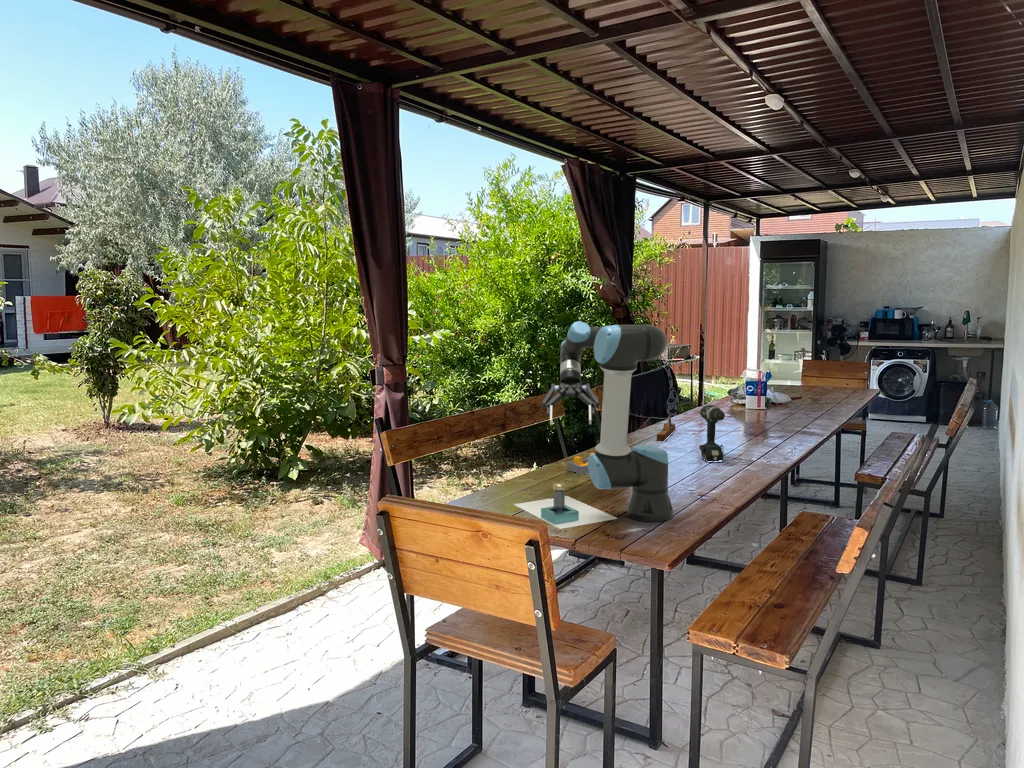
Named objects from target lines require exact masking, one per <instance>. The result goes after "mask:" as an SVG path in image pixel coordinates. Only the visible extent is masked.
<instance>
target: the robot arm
mask: <svg viewBox="0 0 1024 768" xmlns="http://www.w3.org/2000/svg"><path fill="white" fill-rule="evenodd" d="M667 344H668V339H667V335H666V334H665V332H664V330H663V329H662V328H660V327H658V326H656V325H653V324H646V323H645V324H613V325H605V326H590V325H589V324H588V323H586V322H583V321H581V320H580V321H579V320H578V321H574V322H573V323H572V324H571V325H570V327H569V329H568V331H567V335H566V337H565V339H564V340H563V341H562V342H561V344H560V349H559V353H560V367H559V368H560V370H559V374H560V375H559V378H560V381H559V385H556V384H555V383H552V384H551V387H550V389H549V391H548V393H547V394H546V395H545V397H544V398H543V400H542V402H541V407H542V408H543V409H545V408H546V414H547V415H546V416H548V417H549V425H550V426H552V425H553V409H554V408H553V407H554V406H555V405H556V404H557V403H558V402H559V401H560V400H562V399H564V397H567V398H575V397H577V398H578V399H580V400H581V401H582V402H583V403H584V404H585V405H586V406H588V425H592V417H594V416H595V409H596V408H598V409H599V407H600V401H599V400H598V398H597V396H596V395H595V394H594V392H593V390H592V389H591V386H590V383H586V384H584V385H583V384H582V379H581V378H582V376H581V375H582V374H581V373H582V371H581V369H582V368H581V366H582V365H581V359H582V354H583V352H584V350H585V349H589V348H590V349H593V353H594V359H595V361H596V362H597V363H598V364H599V368H600V369H601V371H603V387H602V407H601V422H600V423H601V424H600V437H599V438H600V440H599V443H598V444H596V445H595V448H594V453H595V454H591V455H590V454H589V456H588V458H587V459H588V470H589V474H588V475H589V478H590V480H591V482H592V484H593V485H594V487H595V488H596V489H598V490H609V491H610V490H614V489H623V488H632V490H631V491H632V493H631V495H630V499H629V502H628V506H627V508H626V509H627V512H626V513H627V514H628V515H627V517H629V518H630V519H633V520H635V521H640V522H651V523H652V522H653V523H654V522H664V521H668V520H671V519H672V518H673V517H674V510H673V505H672V502H671V499H670V496H669V465H670V464H669V457H668V452H667V451H666V450H664V449H663V448H660V447H656V446H650V445H634V446H632V447H631V448H630V446H629V445H628V433H629V432H628V431H629V416H630V404H631V403H630V402H631V401H630V400H631V386H632V385H631V384H632V374H633V373H634V372H635V371H636V370H637V369H638V363H639V362H648V361H649V362H650V361H653V360H655V359H658V358H659V357H660V356H662V354H664V352H665V351H666V349H667V346H668V345H667ZM557 391H558V392H557ZM583 391H584V392H586V394H587V395H586V394H585V393H584V392H583ZM555 393H556V395H555Z"/></svg>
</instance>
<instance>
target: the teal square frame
mask: <svg viewBox="0 0 1024 768" xmlns="http://www.w3.org/2000/svg"><path fill="white" fill-rule="evenodd" d="M541 517H542V518H544V519H545V520H547V521H549V522H551V523H553V524H560V523H566V522H571V521H577V520H579V511H577V510H575V509H573V508H571V507H569V506H566V505H565V512H561V513H555V512H554V506H553V507H547V508H541Z"/></svg>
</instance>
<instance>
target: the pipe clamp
mask: <svg viewBox="0 0 1024 768" xmlns="http://www.w3.org/2000/svg"><path fill="white" fill-rule="evenodd" d="M591 454H595V452H590V453H589V456H590V455H591ZM582 460H583V459H582V456H573V461H574V464H577V465H580V466H586V465H588V462H587V463H585V464H584V463H583V462H582Z"/></svg>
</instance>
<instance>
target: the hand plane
mask: <svg viewBox="0 0 1024 768" xmlns="http://www.w3.org/2000/svg"><path fill="white" fill-rule="evenodd" d="M671 417H672V416H671V414H668V417H667V423H666V422H664V423H663V428H662V430H660V432H658V433H657V434H656V442H657V441H664V440H665V439H666V438H667V437H668V436H669V435H670V434H671V433H672V432H673V431H674V430H675V431H676V423H672V420H671Z"/></svg>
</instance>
